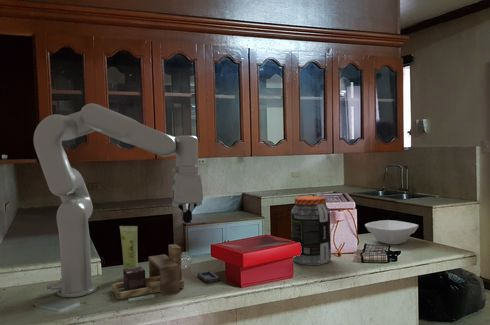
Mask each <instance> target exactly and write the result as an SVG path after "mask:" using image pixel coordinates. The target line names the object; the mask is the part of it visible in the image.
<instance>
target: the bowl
mask: <svg viewBox="0 0 490 325" xmlns="http://www.w3.org/2000/svg"><path fill="white" fill-rule="evenodd" d="M364 227H365V228H366V229H367V231H368V232H369V233H371V234H372V235H373V237H374V238H375V241H377V242H379V243H383V244H387V245H398V244H403V243H407V240H408V239H409V238H410V236H411V235H412V234H414V233H415V232H416V231H417V229H418V228H419V224H416V223H412V222H407V221H401V220H392V219H391V220H390V219H386V220H385V219H384V220H377V221H371V222H367V223H365V224H364Z"/></svg>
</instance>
